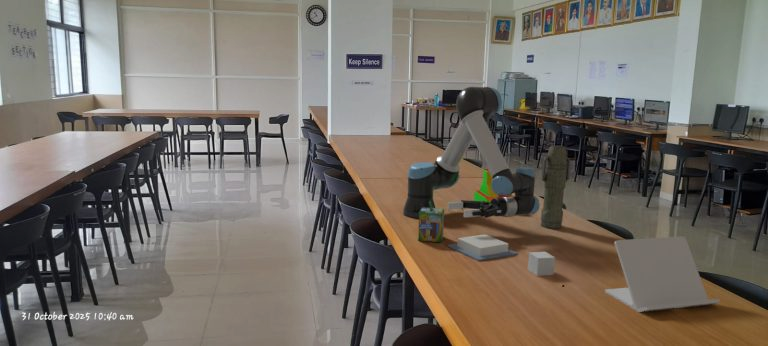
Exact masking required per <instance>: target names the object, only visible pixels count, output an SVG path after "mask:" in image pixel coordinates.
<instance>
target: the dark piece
mask: <svg viewBox="0 0 768 346" xmlns="http://www.w3.org/2000/svg"><path fill="white" fill-rule="evenodd" d="M567 153H568V151H567V148H566V146H564V145H555V144H554V145H551V146H550V147H549V149H548V153H547V156H544V157H543V159H542V165H541V166H542V167H541V181H542V182H543V187H544V194H543V205H542V209H541V215H540V226H541V227H543V228H545V229H549V230H550V229H552V230H559V229H560V230H561V229H562V223H563V219H564V218H563V216H564V211H563V203H564V192H565V188H566V184H567V182H568V181H569V180H570V171H571V162H572V161H571V159H570V157H567V155H568V154H567Z"/></svg>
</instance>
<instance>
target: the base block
mask: <svg viewBox="0 0 768 346" xmlns="http://www.w3.org/2000/svg"><path fill="white" fill-rule="evenodd" d="M456 241H457V243H456V244H457V246H458V247H460V248H462V249H465V250H467V251H469V252H471V253H473V254H475V255H478V256H485V255H491V254H497V253H503V252H508V249H509V243H508V242H505V241H502V240H500V239H498V238H495V237H492V236H490V235H487V234H485V233H484V234H479V235H471V236H463V237H458V238H457V239H456Z"/></svg>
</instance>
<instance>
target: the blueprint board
mask: <svg viewBox="0 0 768 346" xmlns="http://www.w3.org/2000/svg"><path fill="white" fill-rule="evenodd" d="M447 247H448V248H450V249H451V250H454V251H457V252H458V253H460V254H462V255H465V256H466V255H467V257H469V258H471V259H473V260H476V261H477V262H483V261H487V260H493V259H498V258H505V257H511V256H515V255H518V254H519V253H518V252H517V251H515V250H512V249H510V248H508V252H503V253H497V254H491V255H485V256H478V255H475V254H473V253H471V252H469V251H467V250H465V249H462V248H460V247H458V246H457V243H453V244H452V243H451V244H448V245H447Z"/></svg>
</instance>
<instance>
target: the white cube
mask: <svg viewBox="0 0 768 346" xmlns="http://www.w3.org/2000/svg"><path fill="white" fill-rule="evenodd" d="M555 261H556V257H555V256H553V255H551V254H550V253H548V252H547V251H533V252H532V251H531V252H530V251H529V252H528V261H527V270H528V271H529V272H530V273H532V274H534V275H535V276H536V277H538V276H553V275H554V273H555V272H554V271H555Z"/></svg>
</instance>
